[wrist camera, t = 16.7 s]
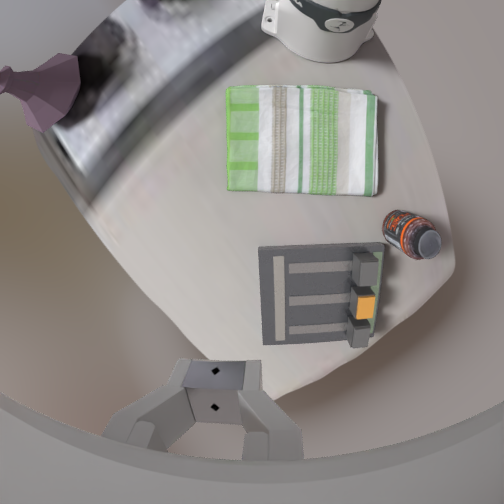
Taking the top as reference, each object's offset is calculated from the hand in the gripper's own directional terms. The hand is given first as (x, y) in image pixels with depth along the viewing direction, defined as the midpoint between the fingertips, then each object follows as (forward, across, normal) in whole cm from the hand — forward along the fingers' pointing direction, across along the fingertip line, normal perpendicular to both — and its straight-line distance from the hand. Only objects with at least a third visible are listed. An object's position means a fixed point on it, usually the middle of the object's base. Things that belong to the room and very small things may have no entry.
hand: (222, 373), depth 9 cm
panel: (+34, -10, +13) cm, 38 cm away
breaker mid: (+32, -16, +13) cm, 38 cm away
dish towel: (+35, -8, -12) cm, 38 cm away
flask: (+34, +36, -28) cm, 57 cm away
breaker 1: (+32, -16, +7) cm, 36 cm away
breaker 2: (+32, -16, +18) cm, 40 cm away
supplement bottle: (+34, -23, +2) cm, 41 cm away
